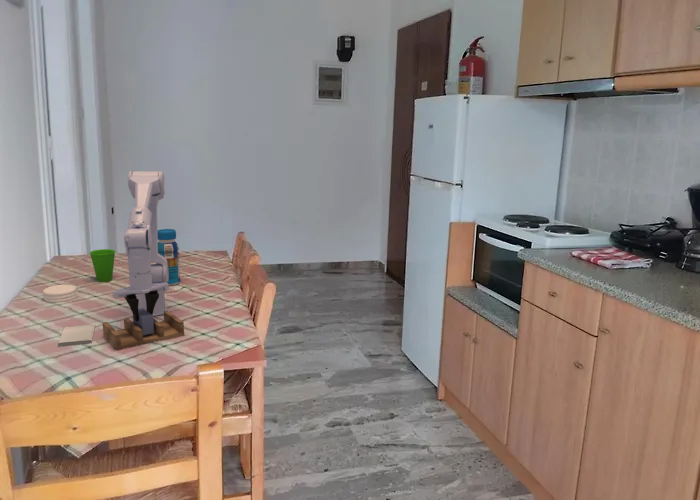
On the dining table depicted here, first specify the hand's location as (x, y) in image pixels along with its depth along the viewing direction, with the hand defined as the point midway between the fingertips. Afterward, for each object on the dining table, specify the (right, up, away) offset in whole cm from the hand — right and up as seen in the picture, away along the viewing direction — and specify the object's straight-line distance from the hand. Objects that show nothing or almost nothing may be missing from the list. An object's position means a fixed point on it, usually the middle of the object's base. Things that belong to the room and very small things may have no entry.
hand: (143, 318), depth 155 cm
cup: (-34, +8, +54) cm, 65 cm away
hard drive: (-18, -6, 0) cm, 19 cm away
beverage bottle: (-10, +7, +52) cm, 53 cm away
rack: (0, -5, +1) cm, 5 cm away
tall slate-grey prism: (0, -3, +1) cm, 3 cm away
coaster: (-40, +3, +33) cm, 51 cm away
